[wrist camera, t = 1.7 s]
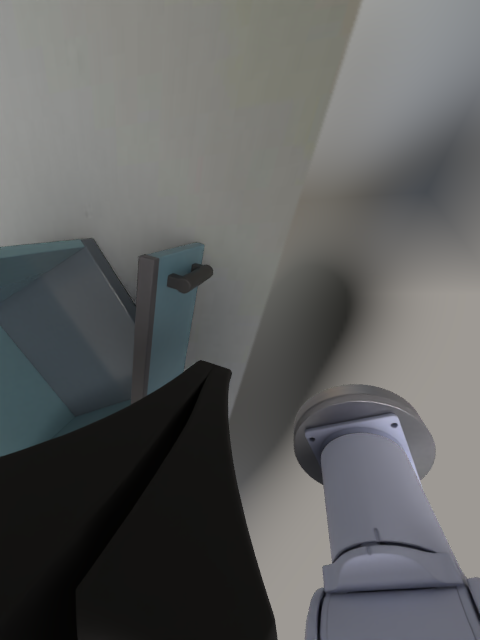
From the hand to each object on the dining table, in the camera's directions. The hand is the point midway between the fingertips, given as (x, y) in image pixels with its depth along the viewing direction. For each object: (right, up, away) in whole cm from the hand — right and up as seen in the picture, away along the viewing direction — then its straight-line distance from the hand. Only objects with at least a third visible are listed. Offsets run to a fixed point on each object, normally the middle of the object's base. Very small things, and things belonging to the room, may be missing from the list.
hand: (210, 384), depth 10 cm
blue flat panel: (-2, +2, +8) cm, 9 cm away
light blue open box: (-13, 0, +13) cm, 19 cm away
